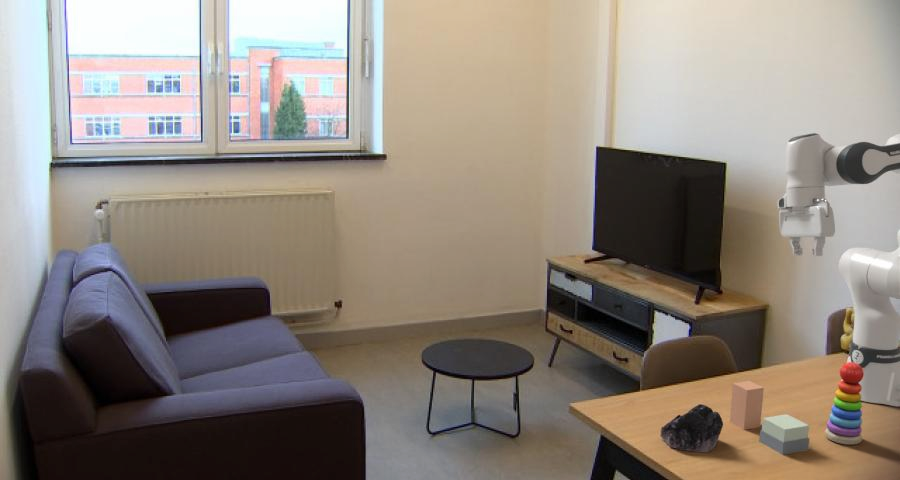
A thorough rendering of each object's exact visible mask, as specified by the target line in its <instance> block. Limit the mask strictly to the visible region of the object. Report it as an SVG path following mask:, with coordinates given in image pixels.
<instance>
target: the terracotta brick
mask: <svg viewBox="0 0 900 480" xmlns="http://www.w3.org/2000/svg"><path fill="white" fill-rule="evenodd" d="M764 390H765V389H764V387H763V386H761V385H759V384H757V383H755V382H752V381H750V380H747V381H741V382H739V381H738V382H733V383H732V392H731V401H730V402H731V403H730V415H729V423H730V424H731V425H735V426H736V427H738V428H740V429H742V430H743V431H745V430H750V429H757V428H761V421H762V414H763V413H762V411H763V401H764Z"/></svg>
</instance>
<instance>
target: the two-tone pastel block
mask: <svg viewBox="0 0 900 480" xmlns="http://www.w3.org/2000/svg"><path fill="white" fill-rule="evenodd" d="M809 430H810V425H809V424H807V423H806V422H803V421H801V420H799V419H797V418H795V417H793V416H791V415H789V414H788V413H787V414H786V413H785V414H780V415H774V416H767V417H763V418H762V425H761V429H760V430H759V438H758V439H759V440H758V441H759V443H761V444H763V445H765V446H767V447H768V448H770V449H772V450H773V451H775V452H777V453H778V454H781V455H788V454H794V453H799V452H804V451H809V447H810V437H809Z"/></svg>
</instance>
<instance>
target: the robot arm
mask: <svg viewBox="0 0 900 480" xmlns="http://www.w3.org/2000/svg"><path fill="white" fill-rule="evenodd" d="M784 161H785V174H786V177H787V182H786V185H785V190H786V191H785V193H784V195H783V196H782V197H781V198H779V199H778V200H777V209H779V212H778V220H779V221H778V222H779V224H778V226H779V232H780V234H781V236H782V237H783V238H789V243H790V245H791V246H790V247H791V248H792V254H793V256H802V255H803V248H802V247H801V243H800V242H801V238H813V242H814V248H812V256H813V257H822V256H823V254H824V253H823V248H824V246H825V244H826V238H827V237H828V238H831V237H834V236H835V233H836V224H835V216H834V210H833V208H832V207H831V204H830V202H829V201H828V199H827V198H826V193H825V191H826V187H834V186H846V185H847V186H848V185H849V186H850V185H867V184H871V183H873V182H875V181H877V180H878V179H879V178H880V177H881V176H882V175H883V174H885V173H887V172H890V171H891V172H893V173H896V174H900V133H898V134H895V135H892V136H890V137H889V138H888V139H887V140H886V143H885V145H878V144H874V143H872V142H868V141H860V142H856V143H852V144H846V145H845V144H844V145H839V146H836V145H833V144H830V143H829V142H827V141H825V140H824V139H823V138H822V137H821V135H820V134H819V133H816V132H815V133H814V132H813V133H809V134H808V133H807V134H803V135H797V136H793V137H791V138H790V139H789V140H788V142H787V143H786V147H785V158H784ZM896 233H897V234H896V243H897V246H898V247H897V248H896V249H895V250H893V251H889V252H888V251H885V250H881V249H876V248H872V247H864V246H863V247H861V246H860V247H850V248H848V249H847V250H846V251H844V252H843V254H842V255H841V257H840V258H839V261H838V273H839V275H840V277H841V278H842V279H843V280H844V282H845V283H846V286H847V287H848V290H849V293H850V297H851V300H852V303H853V307H854V313H855V318H854V331H853V339H852V340H851V344H850V351H849V353H850V354H849V356H848V358H847V361H846V363H848V362H854V363H857V364H859V365H860V366H861V367H862V369H863V372H864V376H863V378H862V380H861V381H860V382H859V384H860V385H861V386H862V390H861V391H860V392H859V393H860V394H861V400H860V401H862V402H866V403H871V404H880V405H881V404H882V405H888V406H892V407H900V346H899V345H900V344H899V343H900V314H899V313H898V311H897V309H896V308H895V307H894V306H893V303H892V301H891V298H893V299H896V300H900V228H899V229H898V231H897V232H896ZM840 381H843V380H842V379H841V380H840Z"/></svg>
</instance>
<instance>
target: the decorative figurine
mask: <svg viewBox="0 0 900 480" xmlns="http://www.w3.org/2000/svg"><path fill="white" fill-rule="evenodd" d="M854 318H855V313H854V306H853V307H847V308H846V310H845V318H844V321H843V332H844V334H842V335H841V337H840V347H841V349H842V350H844V354H848V353H849V351H850V344H851V340H852V339H853V331H854Z"/></svg>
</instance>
